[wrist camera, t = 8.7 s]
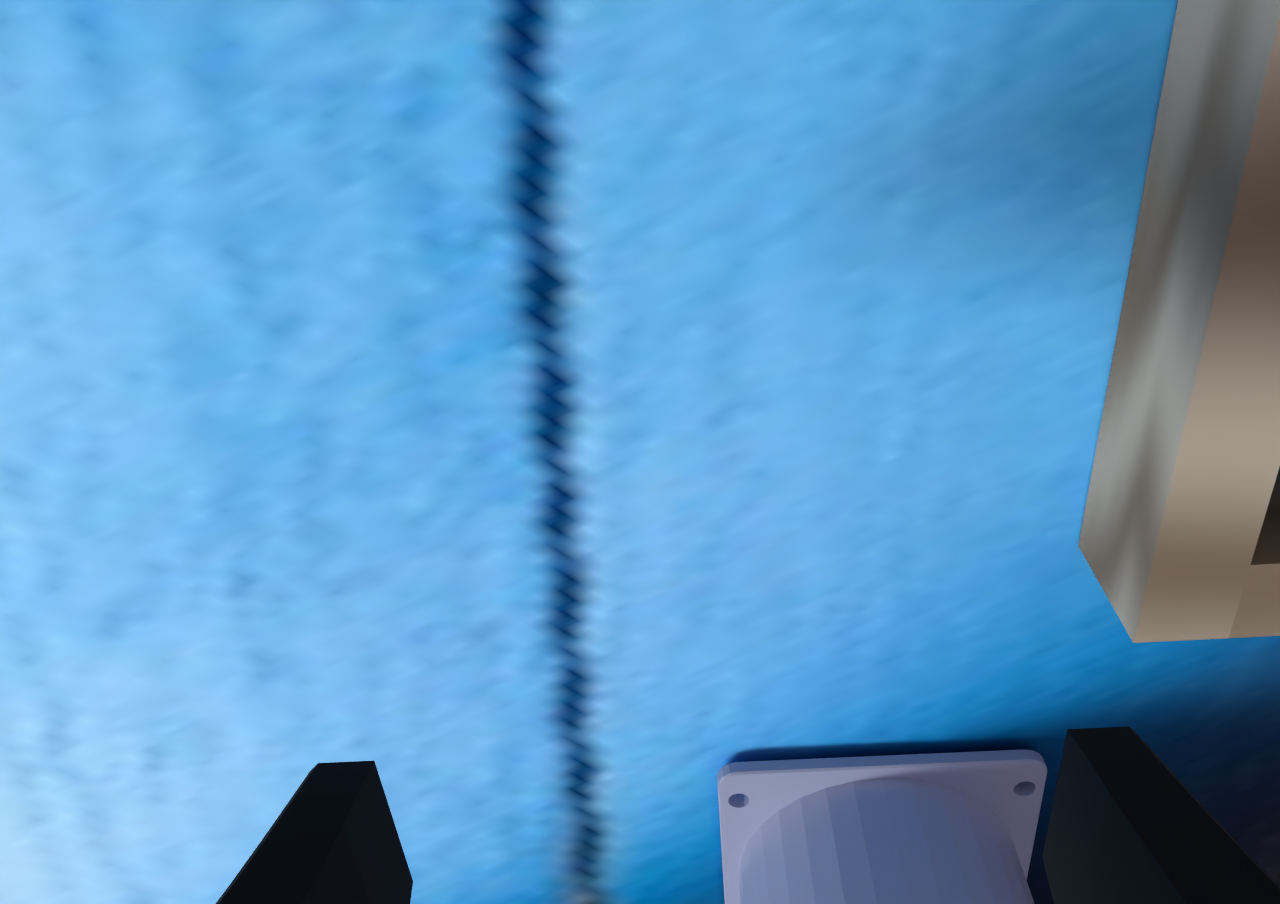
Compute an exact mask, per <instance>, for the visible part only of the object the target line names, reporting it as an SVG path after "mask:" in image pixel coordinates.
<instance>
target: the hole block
mask: <svg viewBox="0 0 1280 904" xmlns="http://www.w3.org/2000/svg"><path fill="white" fill-rule="evenodd" d="M1078 546H1079V548H1080V550H1081V552H1082V553H1083V555H1084V557H1085V559H1086V560H1087V562H1088V564H1089V566H1090V567H1091V569H1092V571H1093V573H1094V574H1095V576H1096V578H1097V580H1098V581H1099V583H1100V585H1101V587H1102V589H1103V590H1104V592H1105V594H1106V596H1107V597H1108V599H1109V601H1110V603H1111V604H1112V606H1113V608H1114V610H1115V611H1116V613H1117V615H1118V617H1119V618H1120V620H1121V622H1122V624H1123V626H1124V627H1125V629H1126V631H1127V633H1128V634H1129V636H1130V638H1131V640H1132V641H1133V643H1140V642H1160V641H1180V640H1201V639H1221V638H1241V637H1262V636H1280V0H1178V4H1177V9H1176V15H1175V20H1174V26H1173V31H1172V36H1171V42H1170V47H1169V53H1168V58H1167V64H1166V69H1165V75H1164V80H1163V86H1162V91H1161V97H1160V102H1159V108H1158V113H1157V118H1156V124H1155V129H1154V135H1153V140H1152V146H1151V151H1150V157H1149V162H1148V168H1147V173H1146V179H1145V184H1144V190H1143V195H1142V201H1141V206H1140V211H1139V217H1138V222H1137V228H1136V233H1135V239H1134V244H1133V250H1132V255H1131V261H1130V266H1129V272H1128V277H1127V283H1126V288H1125V293H1124V299H1123V304H1122V310H1121V315H1120V321H1119V326H1118V332H1117V337H1116V343H1115V348H1114V354H1113V359H1112V365H1111V370H1110V375H1109V381H1108V386H1107V392H1106V397H1105V403H1104V408H1103V414H1102V419H1101V425H1100V430H1099V436H1098V441H1097V447H1096V452H1095V457H1094V463H1093V468H1092V474H1091V479H1090V485H1089V490H1088V496H1087V501H1086V507H1085V512H1084V518H1083V523H1082V529H1081V534H1080V539H1079V545H1078Z"/></svg>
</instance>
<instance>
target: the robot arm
mask: <svg viewBox="0 0 1280 904" xmlns="http://www.w3.org/2000/svg"><path fill="white" fill-rule="evenodd" d="M1046 776H1047V767H1046V764H1045V762H1044V759H1043V757H1042V756H1041V755H1040V754H1039V753H1038V752H1036V751H1033V750H1025V749H1022V750H999V751H976V752H953V753H930V754H908V755H885V756H862V757H839V758H816V759H794V760H771V761H748V762H734V763H729V764H727V765H725V766H723V767H722V768H721V769H720V770H719V771H718V775H717V784H718V800H719V816H720V832H721V849H722V865H723V881H724V897H725V904H1034V901H1033V898H1032V895H1031V892H1030V889H1029V886H1028V883H1027V876H1028V871H1029V866H1030V860H1031V855H1032V850H1033V845H1034V839H1035V834H1036V829H1037V824H1038V818H1039V813H1040V808H1041V803H1042V797H1043V792H1044V787H1045V782H1046ZM735 794H739V795H735ZM1042 859H1043V863H1044V867H1045V871H1046V874H1047V878H1048V882H1049V886H1050V890H1051V893H1052V897H1053V901H1054V904H1280V886H1279V885H1278V884H1277V883H1276V882H1275V881H1274V880H1273V879H1272V878H1271V877H1270V876H1269V875H1268V874H1267V873H1266V872H1265V871H1264V870H1263V869H1262V868H1261V867H1260V866H1259V865H1258V864H1257V863H1256V862H1255V861H1254V859H1253V858H1252V857H1251V856H1250V855H1249V854H1248V853H1247V852H1246V851H1245V850H1244V849H1243V848H1242V847H1241V846H1240V845H1239V844H1238V843H1237V842H1236V841H1235V840H1234V838H1233V837H1232V836H1231V835H1230V834H1229V833H1228V832H1227V831H1226V830H1225V829H1224V828H1223V827H1222V826H1221V825H1220V824H1219V823H1218V821H1217V820H1216V819H1215V818H1214V817H1213V816H1212V815H1211V814H1210V813H1209V812H1208V811H1207V810H1206V809H1205V808H1204V806H1203V805H1202V804H1201V803H1200V802H1199V801H1198V800H1197V799H1196V798H1195V797H1194V796H1193V795H1192V793H1191V792H1190V791H1189V790H1188V789H1187V788H1186V787H1185V786H1184V785H1183V784H1182V783H1181V781H1180V780H1179V779H1178V778H1177V777H1176V776H1175V775H1174V774H1173V773H1172V772H1171V770H1170V769H1169V768H1168V767H1167V766H1166V765H1165V764H1164V763H1163V762H1162V761H1161V759H1160V758H1159V757H1158V756H1157V755H1156V754H1155V753H1154V752H1153V751H1152V750H1151V748H1150V747H1149V746H1148V745H1147V744H1146V743H1145V742H1144V741H1143V740H1142V739H1141V738H1140V736H1139V735H1138V734H1137V733H1135V732H1134V731H1133V730H1132V729H1131V728H1130V727H1111V728H1089V729H1068V730H1067V735H1066V740H1065V745H1064V750H1063V755H1062V760H1061V765H1060V770H1059V775H1058V780H1057V785H1056V790H1055V795H1054V800H1053V805H1052V810H1051V815H1050V820H1049V825H1048V830H1047V835H1046V840H1045V845H1044V850H1043V855H1042ZM412 884H413V880H412V877H411V874H410V871H409V868H408V865H407V862H406V859H405V855H404V852H403V849H402V846H401V843H400V840H399V837H398V834H397V831H396V827H395V824H394V821H393V818H392V815H391V812H390V809H389V806H388V803H387V799H386V796H385V793H384V790H383V787H382V784H381V781H380V778H379V775H378V771H377V768H376V765H375V762H374V761H359V762H337V763H318V764H317V765H316V766H315V767H314V768H313V769H312V770H311V771H310V772H309V774H308V775H307V777H306V778H305V780H304V781H303V782H302V784H301V785H300V787H299V788H298V790H297V791H296V792H295V794H294V795H293V797H292V798H291V800H290V801H289V802H288V804H287V805H286V807H285V808H284V810H283V811H282V812H281V814H280V815H279V817H278V818H277V820H276V821H275V822H274V824H273V825H272V827H271V828H270V830H269V831H268V832H267V834H266V835H265V837H264V838H263V839H262V841H261V842H260V844H259V845H258V847H257V848H256V849H255V851H254V852H253V854H252V855H251V856H250V858H249V859H248V860H247V862H246V863H245V865H244V866H243V867H242V869H241V870H240V872H239V873H238V874H237V876H236V877H235V878H234V880H233V881H232V883H231V884H230V885H229V887H228V888H227V889H226V891H225V892H224V893H223V895H222V896H221V897H220V899H219V900H218V901H217V903H216V904H410V899H411V891H412Z"/></svg>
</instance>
